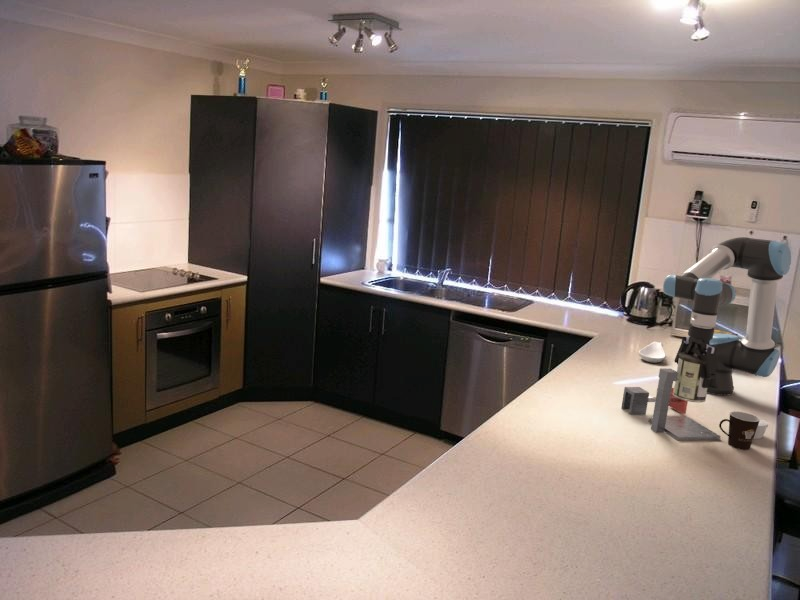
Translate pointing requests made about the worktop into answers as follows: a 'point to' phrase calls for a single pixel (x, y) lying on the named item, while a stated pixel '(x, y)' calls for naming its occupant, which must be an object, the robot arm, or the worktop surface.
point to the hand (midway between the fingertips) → (690, 390)
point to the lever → (674, 403)
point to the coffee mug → (741, 429)
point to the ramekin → (760, 429)
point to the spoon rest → (652, 352)
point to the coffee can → (688, 378)
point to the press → (665, 410)
